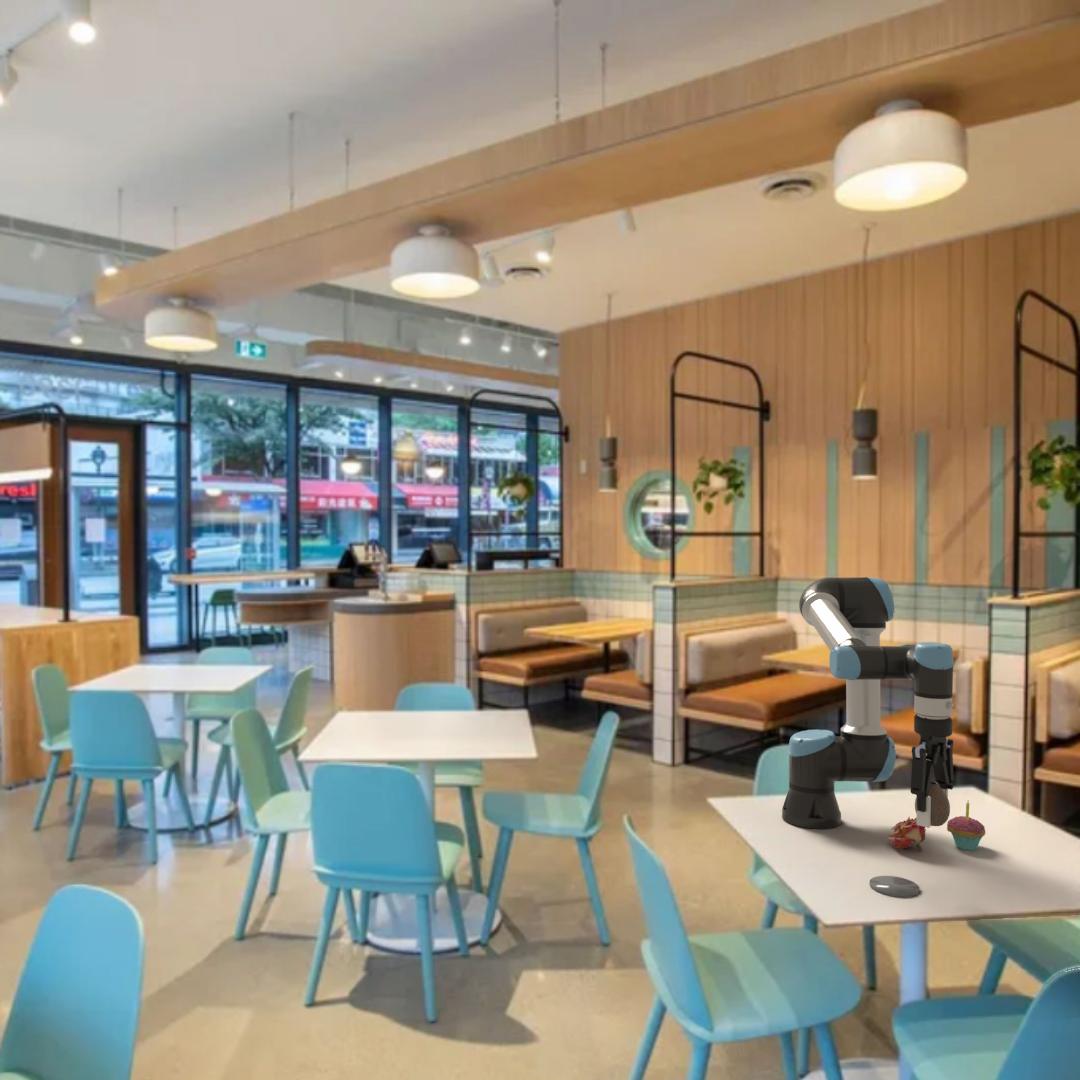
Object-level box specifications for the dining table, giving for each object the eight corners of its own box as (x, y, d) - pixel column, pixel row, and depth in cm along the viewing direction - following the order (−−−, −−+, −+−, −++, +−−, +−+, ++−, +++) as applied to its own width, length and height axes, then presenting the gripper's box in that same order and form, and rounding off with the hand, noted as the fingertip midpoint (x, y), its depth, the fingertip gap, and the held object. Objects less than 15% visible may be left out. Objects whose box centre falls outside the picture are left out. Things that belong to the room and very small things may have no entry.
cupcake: (989, 854, 210) (990, 804, 210) (951, 851, 212) (951, 801, 212) (979, 841, 218) (979, 793, 218) (942, 839, 220) (942, 791, 220)
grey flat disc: (860, 885, 191) (860, 883, 191) (885, 874, 197) (885, 872, 197) (903, 901, 183) (903, 898, 183) (928, 889, 189) (928, 886, 189)
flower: (937, 840, 214) (917, 810, 217) (937, 844, 206) (916, 813, 209) (902, 859, 217) (882, 828, 220) (900, 864, 209) (880, 832, 212)
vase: (908, 818, 192) (908, 778, 192) (938, 817, 193) (938, 777, 193) (925, 829, 185) (926, 788, 185) (956, 828, 186) (957, 787, 186)
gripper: (927, 725, 179) (926, 837, 180) (972, 712, 192) (971, 816, 192) (892, 719, 185) (891, 827, 186) (938, 706, 198) (937, 808, 198)
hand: (932, 821), depth 189 cm, fingers closed on vase, 7 cm apart
